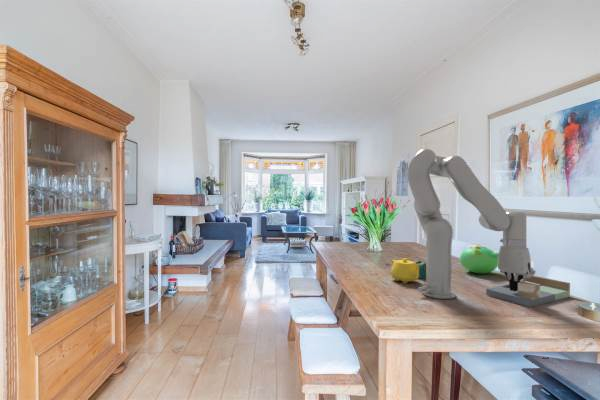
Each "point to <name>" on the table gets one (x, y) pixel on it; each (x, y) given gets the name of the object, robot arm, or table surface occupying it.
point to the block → (529, 290)
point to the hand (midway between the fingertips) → (514, 290)
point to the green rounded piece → (479, 259)
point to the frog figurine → (531, 272)
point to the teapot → (405, 270)
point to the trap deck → (548, 292)
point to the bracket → (421, 269)
